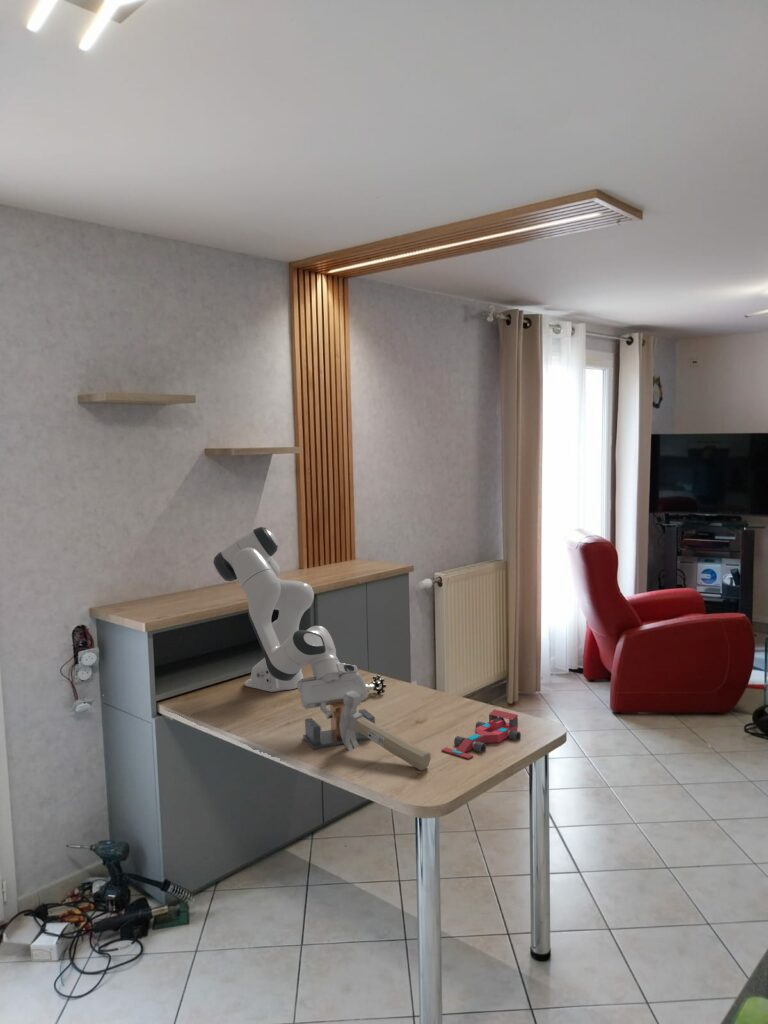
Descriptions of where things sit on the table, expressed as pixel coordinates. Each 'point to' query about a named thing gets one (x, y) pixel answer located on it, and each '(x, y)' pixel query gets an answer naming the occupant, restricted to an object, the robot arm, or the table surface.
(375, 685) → the valve
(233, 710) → the table surface
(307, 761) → the table surface
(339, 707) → the wooden rectangular block
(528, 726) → the table surface
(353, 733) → the hammer
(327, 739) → the vise jaws
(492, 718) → the race car
